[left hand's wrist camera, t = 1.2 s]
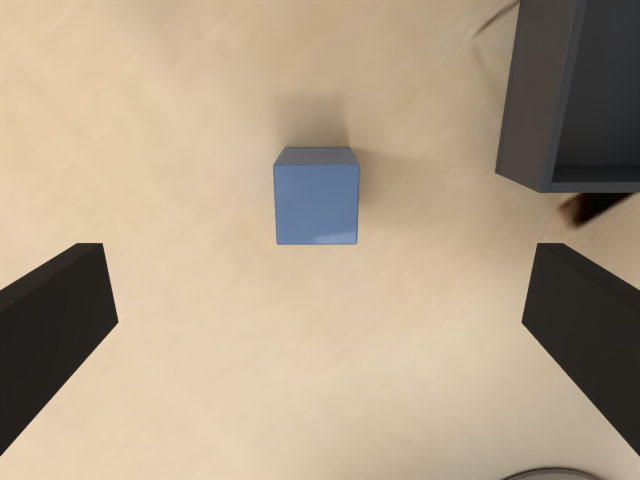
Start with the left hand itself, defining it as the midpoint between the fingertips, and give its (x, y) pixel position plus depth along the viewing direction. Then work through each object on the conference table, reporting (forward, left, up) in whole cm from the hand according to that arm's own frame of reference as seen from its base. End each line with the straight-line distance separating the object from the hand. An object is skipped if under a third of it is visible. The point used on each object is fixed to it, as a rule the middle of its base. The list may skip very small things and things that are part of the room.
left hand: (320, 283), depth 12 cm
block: (0, 0, -17) cm, 17 cm away
